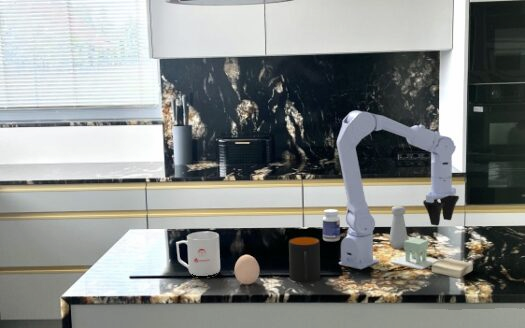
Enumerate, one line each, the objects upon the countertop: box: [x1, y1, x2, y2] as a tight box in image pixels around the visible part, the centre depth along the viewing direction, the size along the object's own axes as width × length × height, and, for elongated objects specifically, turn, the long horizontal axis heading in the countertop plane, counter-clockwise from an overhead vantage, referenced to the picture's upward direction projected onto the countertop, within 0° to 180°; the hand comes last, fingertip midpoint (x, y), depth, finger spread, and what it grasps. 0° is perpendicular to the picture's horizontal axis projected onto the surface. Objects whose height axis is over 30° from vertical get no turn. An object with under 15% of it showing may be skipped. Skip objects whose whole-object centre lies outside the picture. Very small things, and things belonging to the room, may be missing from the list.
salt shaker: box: [388, 205, 409, 249], centre depth 187 cm, size 6×6×13 cm
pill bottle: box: [322, 208, 341, 242], centre depth 198 cm, size 6×6×10 cm
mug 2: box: [288, 236, 321, 284], centre depth 159 cm, size 8×12×10 cm
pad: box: [390, 253, 440, 271], centre depth 172 cm, size 10×10×1 cm
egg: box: [234, 254, 260, 285], centre depth 158 cm, size 7×7×8 cm
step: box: [431, 257, 474, 279], centre depth 162 cm, size 8×8×2 cm
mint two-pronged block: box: [403, 237, 429, 264], centre depth 171 cm, size 5×5×6 cm
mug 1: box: [175, 231, 221, 276], centre depth 167 cm, size 12×9×11 cm
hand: (441, 222), depth 174 cm, fingers open, 7 cm apart
